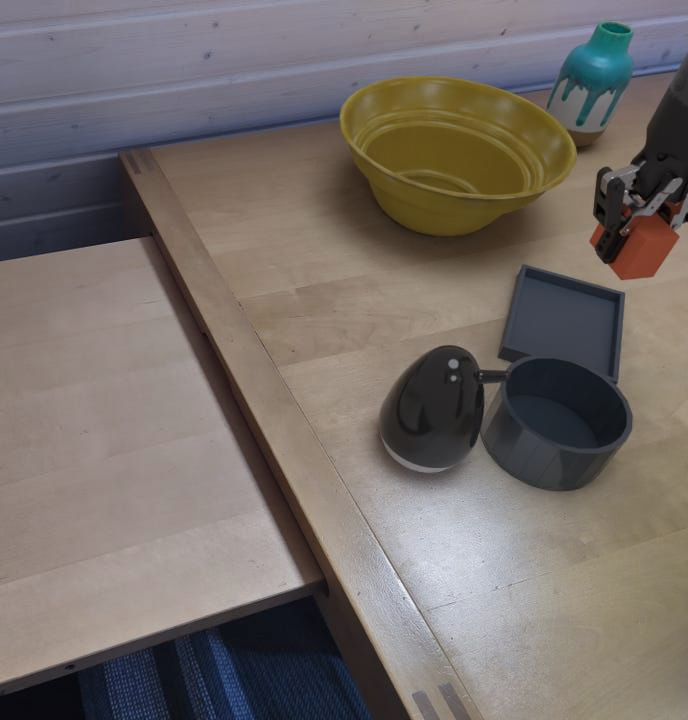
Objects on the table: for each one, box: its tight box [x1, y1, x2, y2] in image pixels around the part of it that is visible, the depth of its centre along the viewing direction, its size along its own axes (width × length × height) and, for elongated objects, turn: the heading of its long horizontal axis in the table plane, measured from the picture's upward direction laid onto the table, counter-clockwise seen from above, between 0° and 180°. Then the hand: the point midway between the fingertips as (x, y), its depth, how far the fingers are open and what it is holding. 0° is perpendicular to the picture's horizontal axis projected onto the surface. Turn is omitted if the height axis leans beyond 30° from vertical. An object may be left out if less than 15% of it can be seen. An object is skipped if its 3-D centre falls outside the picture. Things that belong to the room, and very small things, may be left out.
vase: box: [544, 19, 635, 148], centre depth 116 cm, size 11×11×19 cm
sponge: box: [588, 197, 681, 281], centre depth 69 cm, size 4×6×5 cm, turn 10°
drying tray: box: [497, 263, 626, 386], centre depth 91 cm, size 17×13×2 cm
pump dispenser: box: [377, 344, 510, 474], centre depth 73 cm, size 10×10×15 cm
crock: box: [480, 355, 634, 492], centre depth 77 cm, size 13×13×7 cm
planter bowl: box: [338, 75, 578, 237], centre depth 103 cm, size 32×32×13 cm
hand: (622, 256), depth 70 cm, fingers closed on sponge, 3 cm apart
